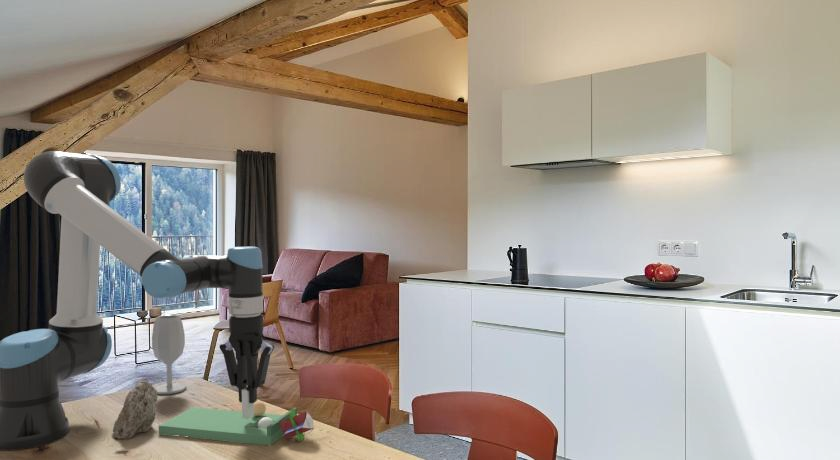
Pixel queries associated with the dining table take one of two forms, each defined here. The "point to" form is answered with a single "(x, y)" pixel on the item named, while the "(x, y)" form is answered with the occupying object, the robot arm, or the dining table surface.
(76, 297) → the robot arm
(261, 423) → the white ball
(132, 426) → the rock
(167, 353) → the wineglass
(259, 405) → the orange ball
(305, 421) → the geometric puzzle
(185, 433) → the putting mat
